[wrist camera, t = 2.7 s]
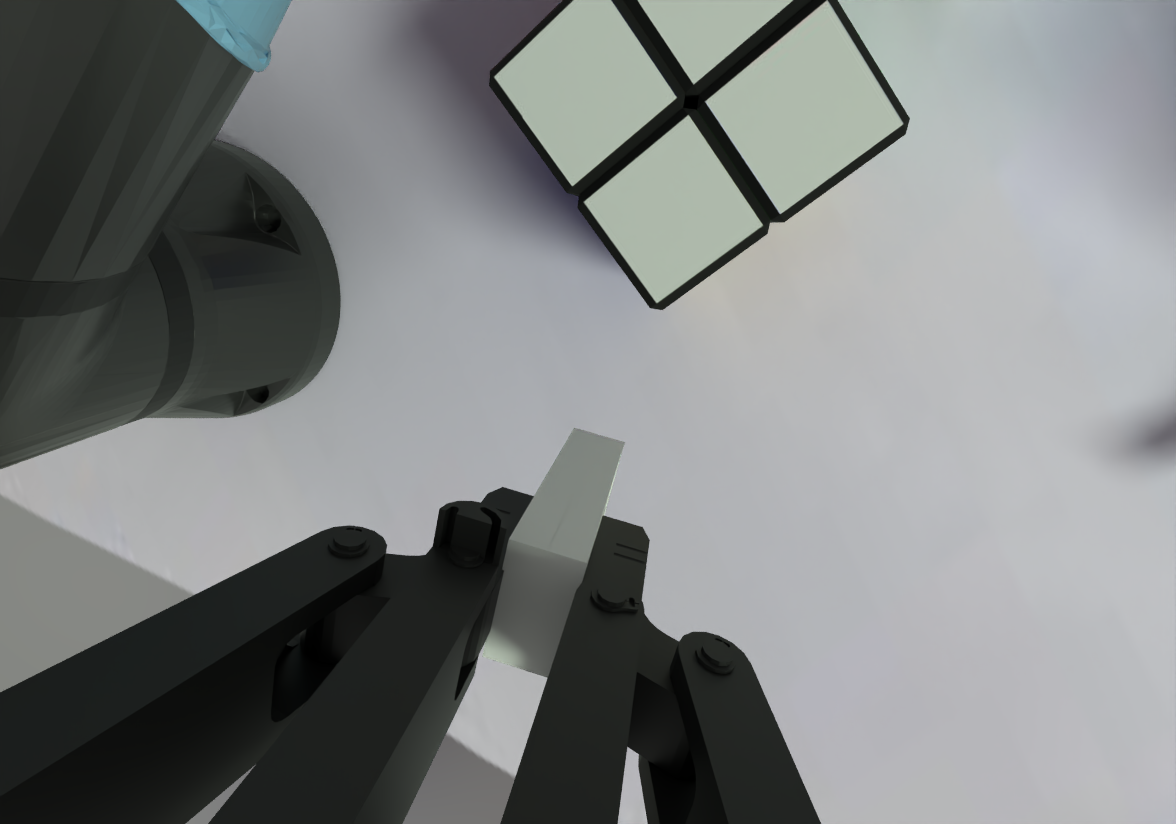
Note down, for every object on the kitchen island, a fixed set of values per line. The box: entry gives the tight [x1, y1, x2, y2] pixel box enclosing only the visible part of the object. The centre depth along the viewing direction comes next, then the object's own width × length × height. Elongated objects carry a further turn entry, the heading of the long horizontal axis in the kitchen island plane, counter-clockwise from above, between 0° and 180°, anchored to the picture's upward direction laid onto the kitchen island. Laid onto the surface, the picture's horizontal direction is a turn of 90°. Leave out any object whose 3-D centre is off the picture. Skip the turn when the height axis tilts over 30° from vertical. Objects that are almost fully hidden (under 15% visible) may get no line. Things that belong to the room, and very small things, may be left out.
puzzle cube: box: [489, 0, 910, 310], centre depth 24 cm, size 10×10×10 cm
